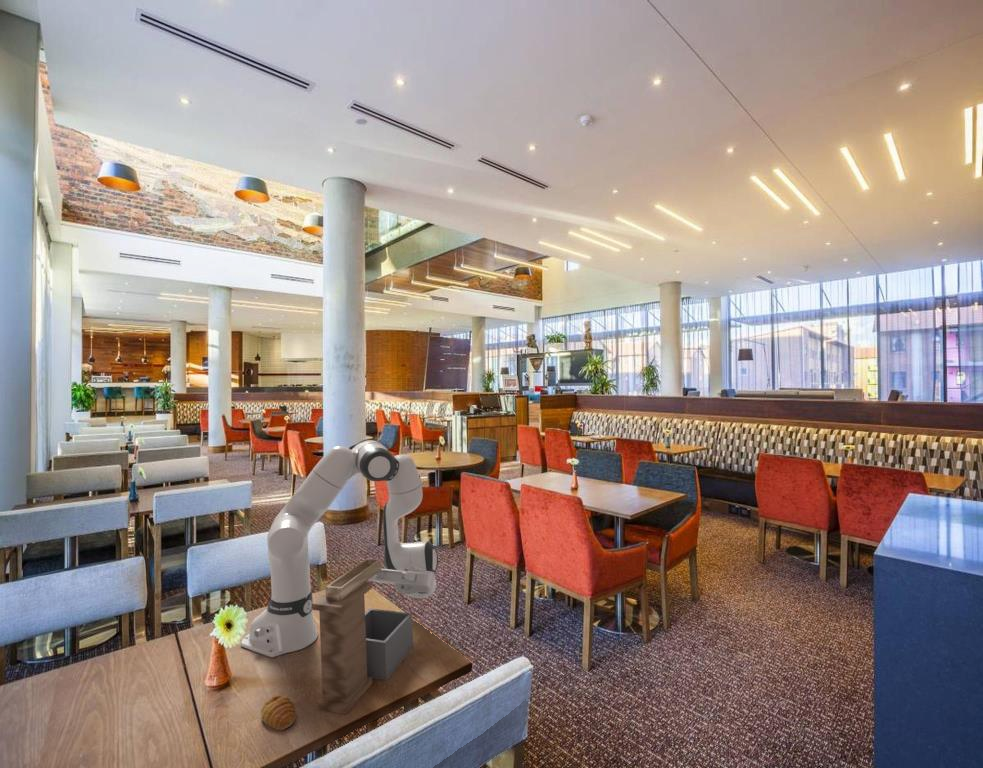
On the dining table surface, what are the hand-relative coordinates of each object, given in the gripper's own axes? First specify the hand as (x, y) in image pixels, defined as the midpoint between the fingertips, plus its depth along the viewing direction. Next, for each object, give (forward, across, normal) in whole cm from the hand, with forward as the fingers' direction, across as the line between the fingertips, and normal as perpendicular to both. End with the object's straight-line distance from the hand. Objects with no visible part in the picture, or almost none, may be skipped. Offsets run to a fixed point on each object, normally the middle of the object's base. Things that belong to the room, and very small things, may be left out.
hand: (389, 573), depth 144 cm
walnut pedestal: (+10, 0, +30) cm, 32 cm away
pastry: (+19, -11, +36) cm, 42 cm away
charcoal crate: (-4, 0, +22) cm, 23 cm away
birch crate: (+18, 0, +5) cm, 19 cm away
